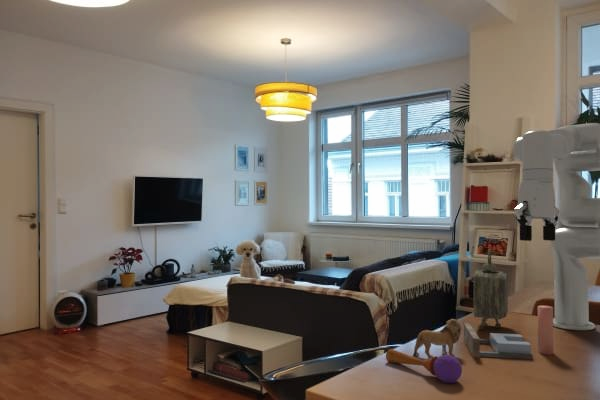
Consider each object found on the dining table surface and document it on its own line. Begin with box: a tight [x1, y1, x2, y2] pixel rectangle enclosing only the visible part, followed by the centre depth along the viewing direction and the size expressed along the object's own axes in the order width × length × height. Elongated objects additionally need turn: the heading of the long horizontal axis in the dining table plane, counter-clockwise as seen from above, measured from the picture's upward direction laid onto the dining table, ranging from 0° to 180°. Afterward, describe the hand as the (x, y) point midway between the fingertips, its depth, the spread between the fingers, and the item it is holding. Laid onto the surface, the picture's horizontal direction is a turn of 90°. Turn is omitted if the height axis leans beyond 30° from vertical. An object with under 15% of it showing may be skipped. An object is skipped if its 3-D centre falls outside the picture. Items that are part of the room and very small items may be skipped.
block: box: [489, 332, 532, 354], centre depth 126 cm, size 10×8×3 cm
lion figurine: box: [411, 318, 462, 359], centre depth 122 cm, size 15×5×9 cm, turn 110°
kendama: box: [385, 348, 463, 384], centre depth 110 cm, size 6×6×20 cm
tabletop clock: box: [472, 248, 509, 331], centre depth 150 cm, size 14×9×25 cm, turn 153°
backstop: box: [463, 322, 534, 360], centre depth 127 cm, size 16×14×5 cm
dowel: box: [537, 305, 554, 356], centre depth 124 cm, size 4×4×12 cm
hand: (537, 240), depth 126 cm, fingers open, 9 cm apart
